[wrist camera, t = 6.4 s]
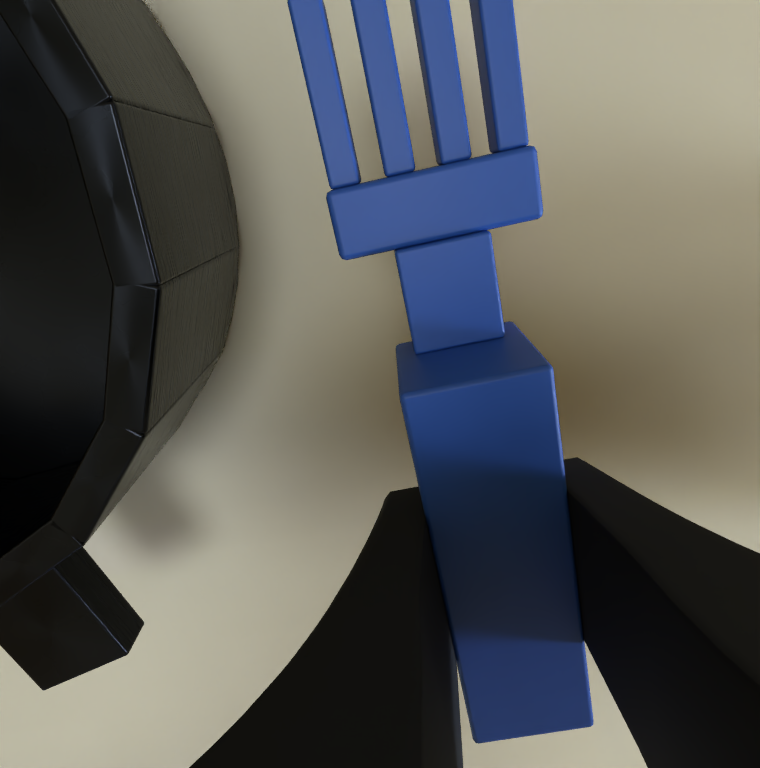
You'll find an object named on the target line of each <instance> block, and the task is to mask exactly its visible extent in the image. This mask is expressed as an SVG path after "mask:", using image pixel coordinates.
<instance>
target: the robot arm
mask: <svg viewBox="0 0 760 768" xmlns="http://www.w3.org/2000/svg"><path fill="white" fill-rule="evenodd" d="M564 468H565V477H566V485H567V495H568V504H569V512H570V521H571V530H572V539H573V547H574V556H575V565H576V574H577V582H578V591H579V600H580V609H581V617H582V626H583V635H584V640H585V642H586V644H587V646H588V648H589V650H590V652H591V654H592V656H593V658H594V660H595V662H596V664H597V666H598V668H599V670H600V672H601V674H602V676H603V678H604V680H605V682H606V684H607V686H608V688H609V690H610V692H611V694H612V696H613V698H614V700H615V702H616V704H617V706H618V708H619V710H620V712H621V714H622V716H623V718H624V720H625V722H626V724H627V726H628V728H629V730H630V732H631V734H632V736H633V738H634V740H635V742H636V744H637V746H638V747H639V750H640V752H641V754H642V756H643V758H644V760H645V763H646V765H647V767H648V768H760V553H757V552H755V551H753V550H750V549H748V548H746V547H744V546H741V545H739V544H737V543H735V542H732V541H730V540H728V539H726V538H724V537H722V536H720V535H718V534H716V533H714V532H712V531H710V530H708V529H705V528H703V527H701V526H699V525H697V524H695V523H693V522H691V521H689V520H687V519H685V518H683V517H681V516H679V515H678V514H676V513H674V512H672V511H670V510H668V509H666V508H664V507H663V506H661V505H659V504H657V503H655V502H653V501H652V500H650V499H648V498H646V497H645V496H643V495H641V494H639V493H638V492H636V491H634V490H632V489H631V488H629V487H627V486H625V485H624V484H622V483H620V482H619V481H617V480H615V479H614V478H612V477H610V476H609V475H607V474H605V473H604V472H602V471H600V470H599V469H597V468H595V467H593V466H592V465H590V464H588V463H587V462H585V461H583V460H581V459H579V458H578V457H576V458H571V459H565V460H564ZM189 768H463V756H462V741H461V725H460V709H459V693H458V678H457V663H456V656H455V652H454V647H453V642H452V638H451V633H450V629H449V624H448V619H447V615H446V610H445V605H444V601H443V596H442V591H441V587H440V582H439V577H438V573H437V568H436V564H435V559H434V554H433V550H432V545H431V540H430V536H429V531H428V526H427V522H426V517H425V514H424V509H423V504H422V500H421V495H420V491H419V487H413V488H408V489H402V490H397V491H392V492H390V493H389V494H388V496H387V497H386V498H385V500H384V503H383V506H382V508H381V511H380V513H379V516H378V518H377V520H376V523H375V525H374V527H373V529H372V531H371V533H370V535H369V538H368V540H367V542H366V544H365V545H364V547H363V549H362V551H361V553H360V555H359V557H358V559H357V561H356V563H355V565H354V566H353V568H352V570H351V572H350V574H349V575H348V577H347V579H346V580H345V582H344V584H343V585H342V587H341V588H340V590H339V592H338V593H337V595H336V597H335V598H334V600H333V602H332V603H331V605H330V606H329V608H328V610H327V611H326V613H325V614H324V616H323V617H322V619H321V620H320V621H319V623H318V624H317V626H316V627H315V629H314V630H313V631H312V633H311V634H310V636H309V637H308V638H307V640H306V641H305V642H304V644H303V645H302V646H301V648H300V649H299V650H298V652H297V653H296V654H295V656H294V657H293V658H292V659H291V661H290V662H289V663H288V664H287V666H286V667H285V668H284V669H283V670H282V672H281V673H280V674H279V675H278V676H277V677H276V679H275V680H274V681H273V682H272V683H271V684H270V685H269V686H268V687H267V689H266V690H265V691H264V692H263V693H262V694H261V695H260V696H259V698H258V699H257V700H256V701H255V702H254V703H253V704H252V705H251V707H250V708H249V709H248V710H247V711H246V712H245V713H244V714H243V715H242V716H241V717H240V719H239V720H238V721H237V722H236V723H235V724H234V725H233V726H232V727H231V728H230V729H229V730H228V731H227V732H226V733H225V734H224V735H223V736H222V737H221V738H220V739H219V740H218V741H217V742H216V743H215V744H214V745H213V746H212V747H211V748H210V749H209V750H207V751H206V752H205V753H204V754H203V755H202V756H201V757H200V758H199V759H198V760H197V761H196V762H195V763H194V764H193V765H191V766H190V767H189Z"/></svg>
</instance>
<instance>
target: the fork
mask: <svg viewBox="0 0 760 768" xmlns="http://www.w3.org/2000/svg"><path fill="white" fill-rule="evenodd" d="M350 1H351V6H352V11H353V16H354V22H355V27H356V32H357V37H358V42H359V47H360V52H361V57H362V62H363V67H364V72H365V77H366V83H367V88H368V93H369V98H370V103H371V108H372V113H373V118H374V123H375V128H376V133H377V138H378V144H379V149H380V154H381V159H382V164H383V169H384V174H385V175H386V176H387V177H386V178H381V179H377V180H372V181H368V182H364V183H360V182H361V176H360V171H359V166H358V162H357V157H356V152H355V147H354V143H353V138H352V133H351V128H350V124H349V119H348V114H347V109H346V105H345V100H344V95H343V90H342V86H341V81H340V76H339V71H338V67H337V62H336V57H335V52H334V48H333V43H332V38H331V33H330V28H329V24H328V19H327V14H326V9H325V6H324V3H323V0H288V7H289V11H290V15H291V20H292V24H293V29H294V33H295V37H296V42H297V46H298V50H299V55H300V59H301V63H302V68H303V72H304V77H305V81H306V85H307V90H308V94H309V98H310V103H311V107H312V111H313V116H314V120H315V125H316V129H317V133H318V138H319V142H320V146H321V151H322V155H323V159H324V164H325V168H326V172H327V177H328V181H329V186H330V187H331V189H333V190H331V191H329V192H328V193H327V197H326V199H327V203H328V208H329V212H330V216H331V221H332V225H333V229H334V234H335V238H336V242H337V246H338V251H339V255H340V256H341V258H342V259H344V260H350V259H355V258H359V257H364V256H368V255H373V254H378V253H382V252H387V251H392V250H394V252H395V257H396V262H397V267H398V272H399V277H400V282H401V287H402V292H403V297H404V302H405V307H406V312H407V317H408V322H409V327H410V332H411V337H412V341H411V342H406V343H401V344H398V345H397V346H396V359H397V371H398V384H399V396H400V402H401V407H402V412H403V416H404V421H405V426H406V430H407V435H408V439H409V444H410V449H411V453H412V458H413V463H414V467H415V472H416V477H417V481H418V486H419V491H420V495H421V500H422V504H423V509H424V514H425V517H426V522H427V526H428V531H429V536H430V540H431V545H432V550H433V554H434V559H435V564H436V568H437V573H438V577H439V582H440V587H441V591H442V596H443V601H444V605H445V610H446V615H447V619H448V624H449V629H450V633H451V638H452V642H453V647H454V652H455V656H456V662H457V667H458V671H459V676H460V681H461V685H462V690H463V695H464V699H465V704H466V709H467V713H468V718H469V723H470V727H471V732H472V736H473V739H474V741H475V742H476V743H484V742H491V741H498V740H505V739H511V738H518V737H525V736H531V735H538V734H545V733H552V732H558V731H565V730H572V729H578V728H585V727H591V726H592V725H593V713H592V704H591V696H590V687H589V678H588V669H587V661H586V652H585V643H584V635H583V626H582V617H581V609H580V600H579V591H578V582H577V574H576V565H575V556H574V547H573V539H572V530H571V521H570V512H569V504H568V495H567V485H566V477H565V468H564V459H563V450H562V442H561V433H560V424H559V415H558V407H557V398H556V389H555V380H554V372H553V368H552V366H551V364H550V363H549V362H548V361H547V360H546V359H545V358H544V357H543V355H542V354H541V353H540V352H539V351H538V350H537V349H536V348H535V346H534V345H533V344H532V343H531V342H530V341H529V340H528V338H527V337H526V336H525V335H524V334H523V333H522V332H521V331H520V329H519V328H518V327H517V326H516V325H515V324H514V323H513V322H510V321H509V322H503V315H502V308H501V301H500V294H499V287H498V280H497V273H496V266H495V259H494V252H493V245H492V237H491V233H490V232H489V231H487V230H489V229H494V228H498V227H503V226H508V225H512V224H517V223H522V222H526V221H531V220H535V219H538V218H540V217H541V216H542V214H543V204H542V195H541V186H540V177H539V168H538V159H537V151H536V149H535V147H534V146H526V145H528V142H529V141H528V132H527V123H526V114H525V105H524V96H523V88H522V79H521V70H520V61H519V52H518V44H517V35H516V26H515V17H514V8H513V0H469V2H470V9H471V17H472V24H473V31H474V39H475V46H476V54H477V61H478V68H479V76H480V83H481V90H482V98H483V105H484V113H485V120H486V127H487V135H488V142H489V149H490V152H491V153H492V154H488V155H483V156H479V157H474V158H471V147H470V141H469V134H468V127H467V120H466V113H465V106H464V99H463V93H462V86H461V79H460V72H459V65H458V58H457V52H456V45H455V38H454V31H453V24H452V17H451V10H450V4H449V0H410V5H411V11H412V17H413V23H414V29H415V35H416V41H417V47H418V53H419V59H420V65H421V71H422V77H423V83H424V89H425V95H426V101H427V107H428V113H429V119H430V125H431V131H432V137H433V143H434V149H435V155H436V161H437V163H438V165H439V166H435V167H430V168H426V169H421V170H417V171H414V170H415V163H414V157H413V152H412V146H411V140H410V135H409V129H408V124H407V118H406V112H405V107H404V101H403V96H402V90H401V84H400V79H399V73H398V68H397V62H396V56H395V51H394V45H393V40H392V34H391V28H390V23H389V17H388V12H387V6H386V1H385V0H350ZM469 158H470V159H469Z"/></svg>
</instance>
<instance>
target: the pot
mask: <svg viewBox="0 0 760 768" xmlns="http://www.w3.org/2000/svg"><path fill="white" fill-rule="evenodd" d="M238 256H239V240H238V229H237V219H236V208H235V200H234V196H233V191H232V187H231V182H230V178H229V173H228V169H227V164H226V160H225V157H224V154H223V151H222V148H221V145H220V142H219V140H218V137H217V134H216V131H215V128H214V125H213V122H212V119H211V117H210V114H209V112H208V110H207V108H206V106H205V104H204V102H203V100H202V98H201V96H200V94H199V92H198V89H197V87H196V85H195V83H194V81H193V79H192V77H191V75H190V73H189V71H188V70H187V68H186V66H185V65H184V63H183V62H182V60H181V58H180V57H179V55H178V54H177V52H176V50H175V49H174V47H173V46H172V44H171V43H170V41H169V39H168V38H167V36H166V35H165V33H164V31H163V30H162V28H161V27H160V26H159V25H158V23H157V22H156V20H155V19H154V17H153V15H152V13H151V11H150V10H149V8H148V7H147V6H146V4H145V3H144V2H143V1H142V0H0V645H1V646H2V648H3V649H4V650H5V651H6V652H7V653H8V654H9V655H10V656H11V657H12V658H13V659H14V660H15V661H16V662H17V664H18V665H19V666H20V667H21V668H22V669H23V670H24V671H25V672H26V673H27V674H28V675H29V676H30V677H31V678H32V679H33V681H34V682H35V683H36V684H37V685H38V686H39V687H40V688H41V689H42V690H46V689H49V688H51V687H53V686H56V685H58V684H60V683H63V682H65V681H67V680H70V679H72V678H74V677H77V676H79V675H81V674H84V673H86V672H88V671H91V670H93V669H95V668H98V667H100V666H102V665H105V664H107V663H109V662H112V661H114V660H116V659H119V658H121V657H123V656H126V655H127V654H128V653H129V651H130V650H131V648H132V646H133V644H134V642H135V640H136V638H137V636H138V634H139V632H140V631H141V629H142V627H143V625H144V621H143V620H142V619H141V618H140V617H139V615H138V614H137V613H136V612H135V610H134V609H133V608H132V607H131V605H130V604H129V603H128V602H127V601H126V599H125V598H124V597H123V596H122V594H121V593H120V592H119V591H118V590H117V588H116V587H115V586H114V585H113V583H112V582H111V581H110V580H109V579H108V577H107V576H106V575H105V574H104V572H103V571H102V570H101V569H100V567H99V566H98V565H97V564H96V563H95V561H94V560H93V559H92V558H91V556H90V555H89V554H88V553H87V552H86V550H85V549H84V548H83V546H84V545H85V544H86V542H87V541H88V540H89V539H90V537H91V536H92V535H93V534H94V532H95V531H96V530H97V529H98V527H99V526H100V525H101V524H102V522H103V521H104V520H105V519H106V517H107V516H108V515H109V514H110V512H111V511H112V510H113V509H114V507H115V506H116V505H117V504H118V502H119V501H120V500H121V499H122V497H123V496H124V495H125V494H126V492H127V491H128V490H129V489H130V487H131V486H132V485H133V484H134V482H135V481H136V480H137V479H138V477H139V476H140V475H141V474H142V472H143V471H144V470H145V469H146V467H147V466H148V465H149V464H150V462H151V461H152V460H153V459H154V457H155V456H156V455H157V454H158V452H159V451H160V450H161V449H162V447H163V446H164V445H165V444H166V442H167V441H168V440H169V439H170V437H171V436H172V435H173V434H174V432H175V431H176V430H177V429H178V427H179V426H180V425H181V423H182V421H183V419H184V418H185V416H186V414H187V413H188V411H189V409H190V407H191V406H192V404H193V402H194V400H195V399H196V397H197V396H198V394H199V393H200V391H201V390H202V389H203V387H204V386H205V384H206V382H207V380H208V378H209V376H210V374H211V372H212V370H213V368H214V366H215V364H216V363H217V361H218V359H219V357H220V356H221V354H222V352H223V348H224V346H225V340H226V335H227V332H228V329H229V326H230V322H231V319H232V313H233V307H234V301H235V295H236V290H237V284H238Z"/></svg>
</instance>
